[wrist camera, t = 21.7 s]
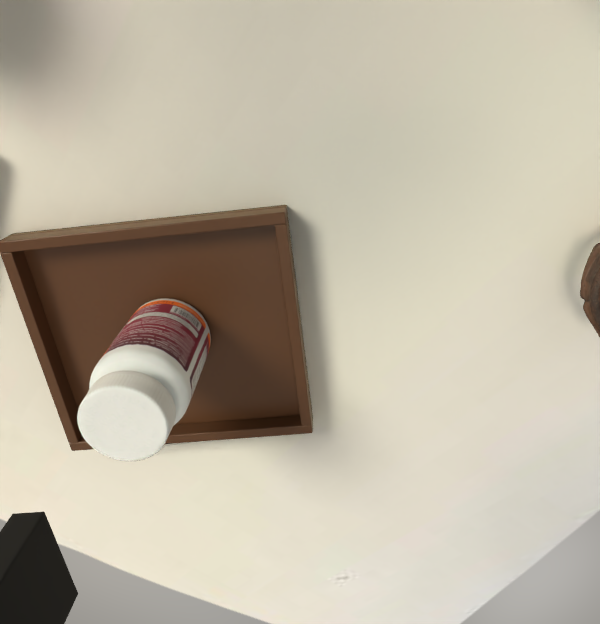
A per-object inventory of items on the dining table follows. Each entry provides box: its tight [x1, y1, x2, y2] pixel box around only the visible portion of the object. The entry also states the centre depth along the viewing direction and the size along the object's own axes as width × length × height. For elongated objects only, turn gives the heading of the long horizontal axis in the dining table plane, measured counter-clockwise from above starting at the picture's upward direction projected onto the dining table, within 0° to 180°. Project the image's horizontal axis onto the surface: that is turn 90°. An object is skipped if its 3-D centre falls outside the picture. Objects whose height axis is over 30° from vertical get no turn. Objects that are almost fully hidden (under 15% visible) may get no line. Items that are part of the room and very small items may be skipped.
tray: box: [0, 205, 313, 451], centre depth 39 cm, size 18×20×2 cm
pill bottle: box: [77, 299, 211, 461], centre depth 34 cm, size 6×6×11 cm
